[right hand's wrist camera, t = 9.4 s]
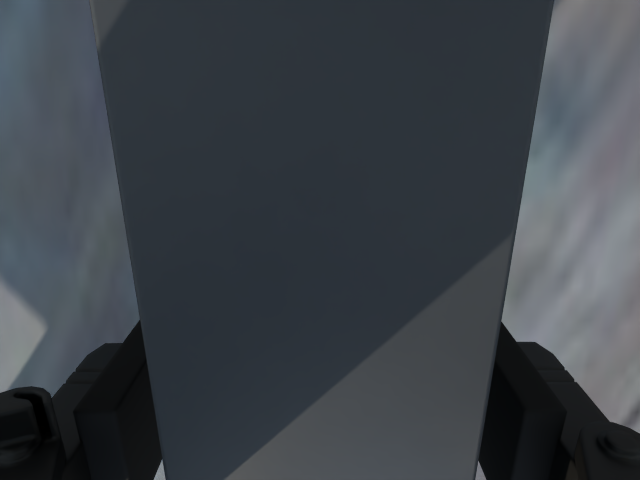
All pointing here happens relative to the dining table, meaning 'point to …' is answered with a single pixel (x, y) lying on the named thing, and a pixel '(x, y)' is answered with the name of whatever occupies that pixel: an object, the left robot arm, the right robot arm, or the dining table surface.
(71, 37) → the dining table surface
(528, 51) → the bar
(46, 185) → the dining table surface
